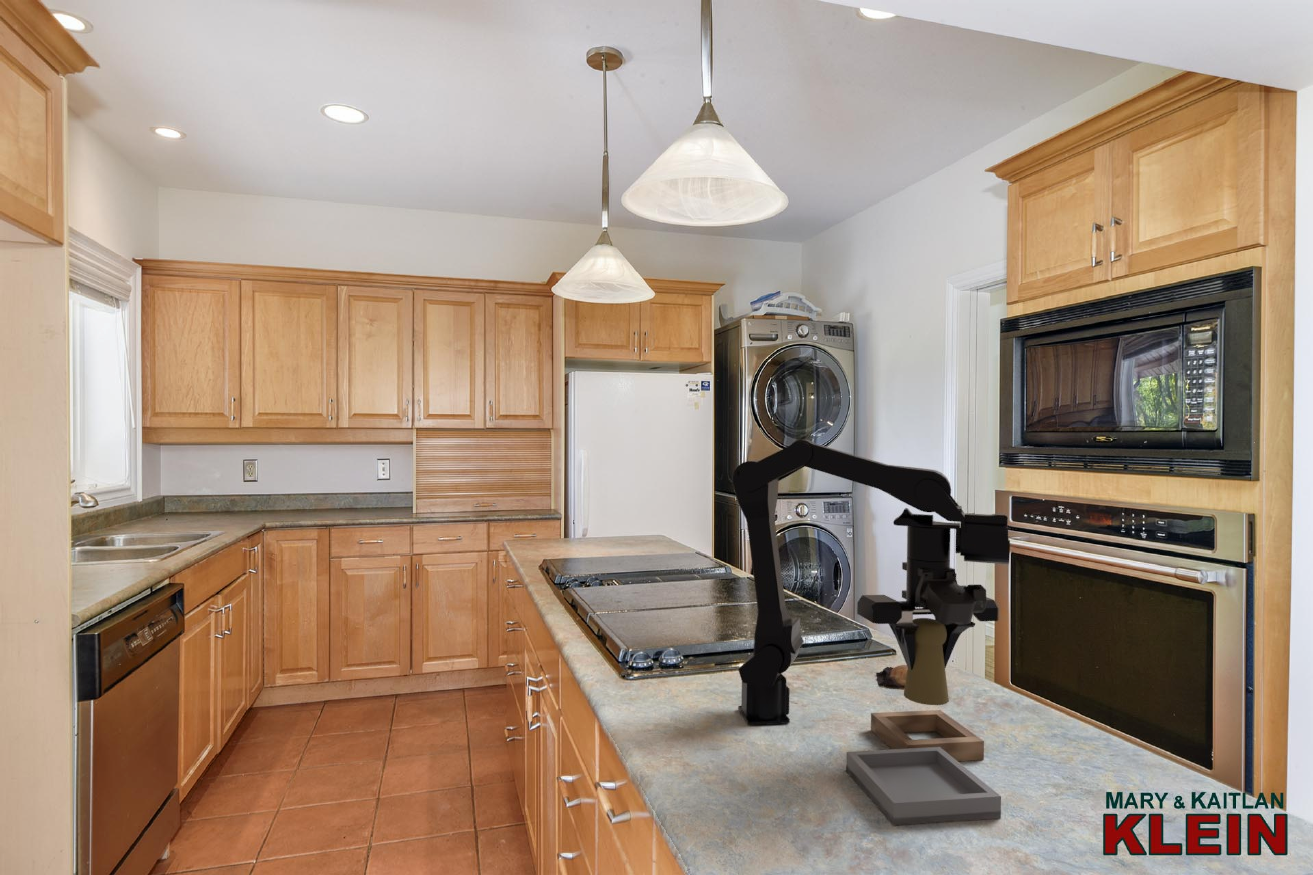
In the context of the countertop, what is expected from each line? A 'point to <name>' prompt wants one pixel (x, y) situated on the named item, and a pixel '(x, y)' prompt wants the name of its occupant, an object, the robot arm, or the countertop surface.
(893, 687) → the bread roll
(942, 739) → the pin holder
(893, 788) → the tray
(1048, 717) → the countertop surface
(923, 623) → the cork
